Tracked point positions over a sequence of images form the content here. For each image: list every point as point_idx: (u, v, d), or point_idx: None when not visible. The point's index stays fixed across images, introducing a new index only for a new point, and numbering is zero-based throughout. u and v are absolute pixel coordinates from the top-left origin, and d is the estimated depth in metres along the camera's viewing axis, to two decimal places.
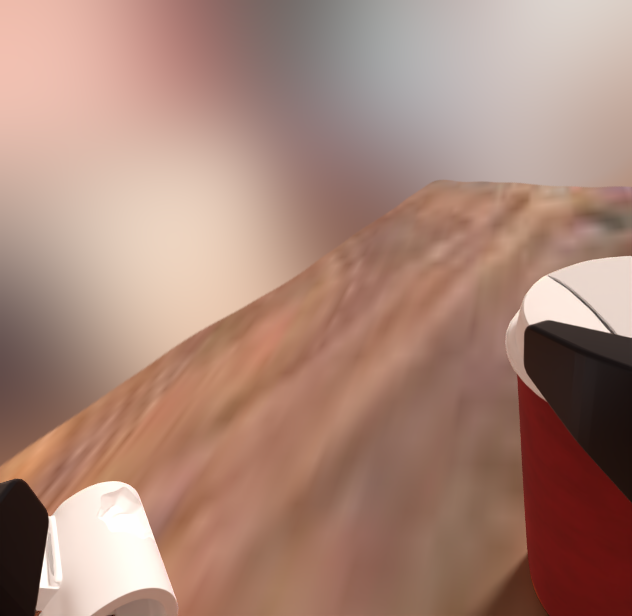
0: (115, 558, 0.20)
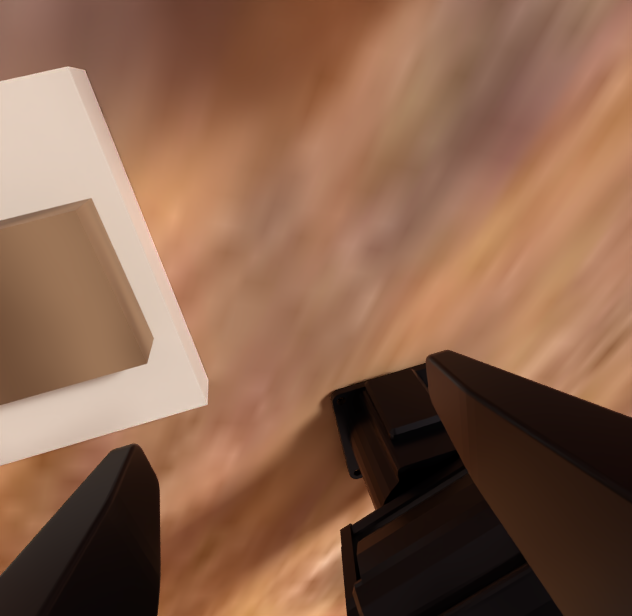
0: None
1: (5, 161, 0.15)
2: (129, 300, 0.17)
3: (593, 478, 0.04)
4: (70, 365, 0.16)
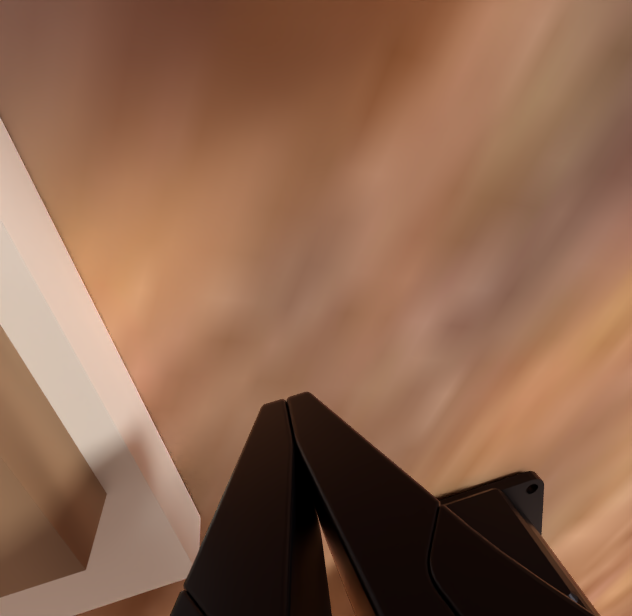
0: None
1: None
2: (53, 456, 0.09)
3: (350, 560, 0.04)
4: None
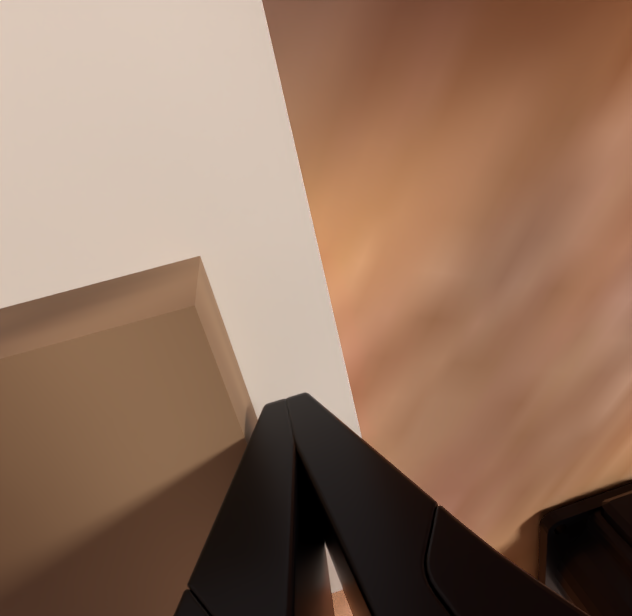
0: None
1: (83, 165, 0.06)
2: None
3: (347, 561, 0.04)
4: (150, 603, 0.08)
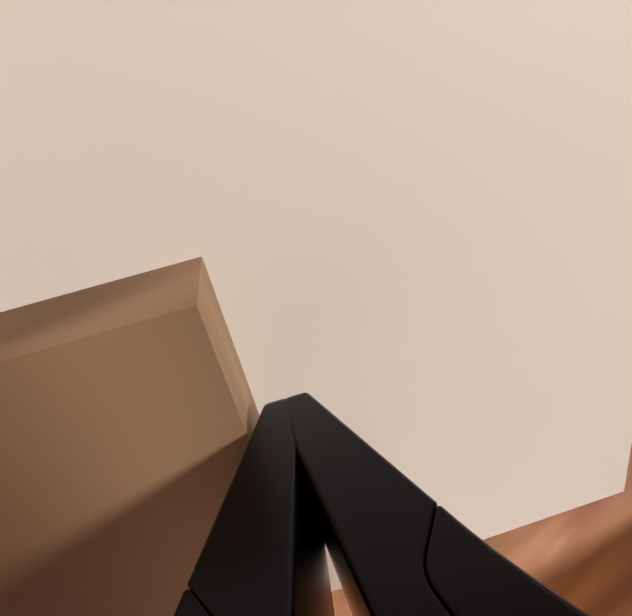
0: None
1: (528, 57, 0.07)
2: None
3: (347, 561, 0.04)
4: (156, 599, 0.08)
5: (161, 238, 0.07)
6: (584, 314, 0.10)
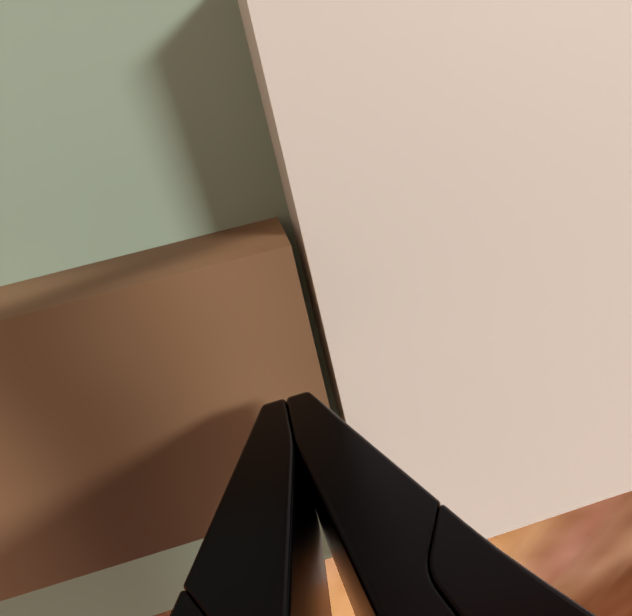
0: None
1: None
2: None
3: (350, 560, 0.04)
4: None
5: None
6: None
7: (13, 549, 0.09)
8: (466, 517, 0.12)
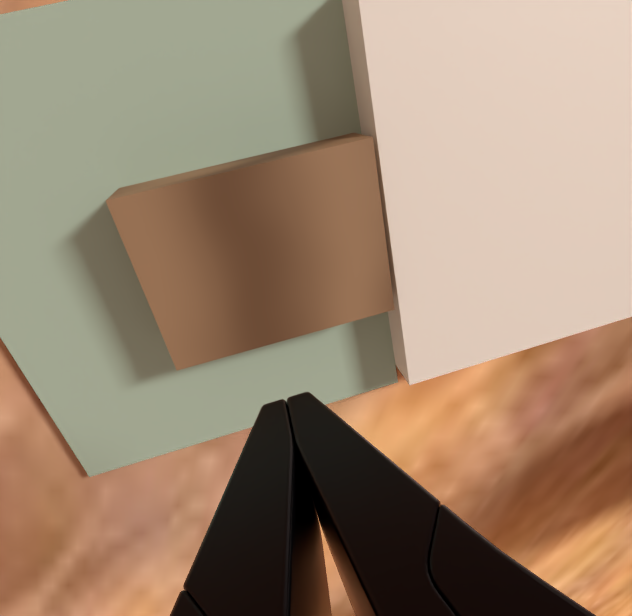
0: None
1: None
2: None
3: (350, 560, 0.04)
4: (324, 309, 0.15)
5: (564, 67, 0.14)
6: None
7: (198, 329, 0.15)
8: (465, 344, 0.18)
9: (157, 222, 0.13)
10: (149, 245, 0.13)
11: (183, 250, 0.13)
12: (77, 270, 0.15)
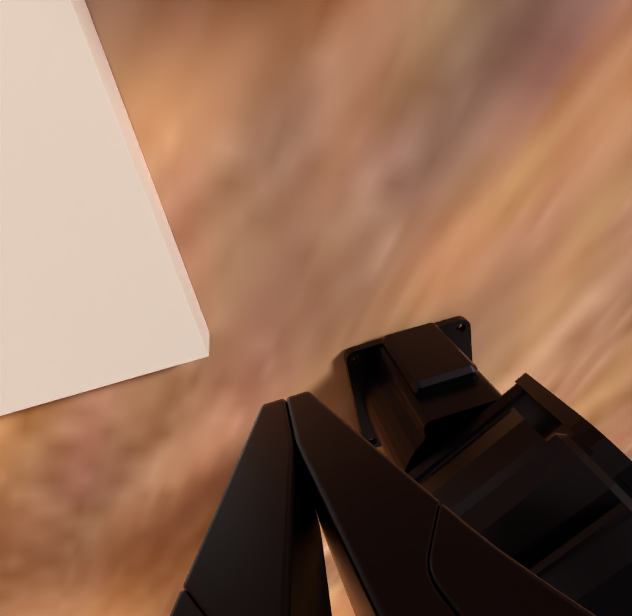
0: None
1: None
2: None
3: (350, 560, 0.04)
4: None
5: None
6: (99, 215, 0.15)
7: None
8: None
9: None
10: None
11: None
12: None
